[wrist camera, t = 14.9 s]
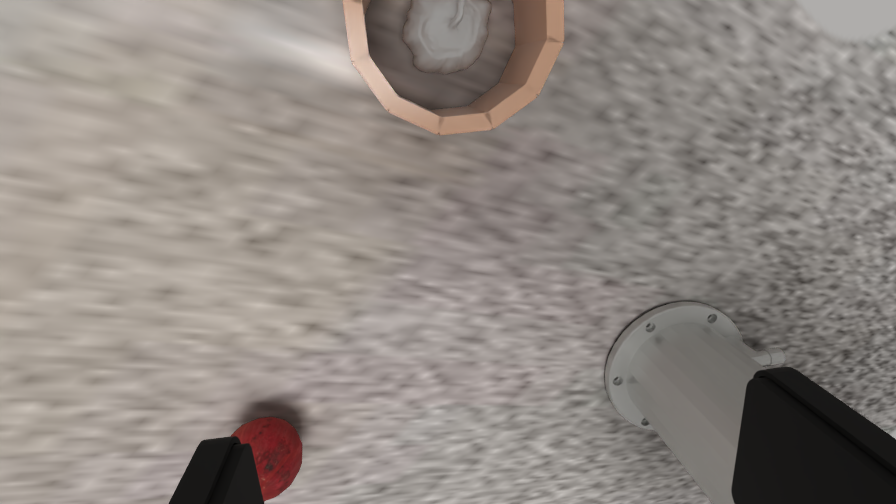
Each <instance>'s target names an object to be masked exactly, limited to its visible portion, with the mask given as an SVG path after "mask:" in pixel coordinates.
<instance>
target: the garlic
mask: <svg viewBox="0 0 896 504" xmlns="http://www.w3.org/2000/svg"><path fill="white" fill-rule="evenodd" d="M490 12H491V3H490V2H489V1H487V0H411V9H410V10H409V11H408V13H407V21H406V23H405V25H404V27H403V36H402V38H403V41H404V42H405V43H406V44H407V45H408V47H409V49H410V50H411V51H412V53H413V55H414V57H413V64H414V66H415V67H417V68H418V69H420V70H421V71H423V72H440V73H442V74H449V73H453V72H456V71H458V70H465V69H467V68H468V67H469V66H471V65H472V64H473V63H474V62H475V60H476V59H477V58H478V57H479V56H480V54H481V52H482V48H483V45H484V43H485V41H486V39H487V37H488V29H487V23H488V17H489V14H490Z"/></svg>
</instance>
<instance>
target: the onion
mask: <svg viewBox="0 0 896 504" xmlns="http://www.w3.org/2000/svg"><path fill="white" fill-rule="evenodd" d="M232 436H236V437H238V438H239V439H240V442H241V444H245V443H249V444H250V445H251V448H252V451H253V456H254V460H255V464H256V469H257V473H258V478H259V482H260V487H261V491H262V496H263V500H264V501H266V500H269V499H271V498H274V497H276V496H278V495H279V494H280V493H282V492H283V491H284V490H285V489H286V488H288V487H289V486H290V485H291V483H292V482H293V480H294V479H295V477H296V475H297V473H298V472H299V469H300V467H301V464H302V442H301V440H300V437H299V435H298V433H297V431H296V430H295V428H294V427H293V426H292V425H290V424H289V423H288V422H287V421H285V420H283V419H279V418H275V417H265V418H258V419H256V420H253V421H251V422H249V423H246V424H244V425H242V426H241V427H240V428H238V429H237V430H236V431H235V432H234V433H233V434H232V435H231V437H232Z"/></svg>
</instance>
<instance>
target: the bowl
mask: <svg viewBox="0 0 896 504" xmlns="http://www.w3.org/2000/svg"><path fill="white" fill-rule="evenodd" d="M342 1H343V8H344V15H345V22H346V29H347V36H348V43H349V50H350V57H351V61H352V62H353V63H352V64H353V65H354V67H355V68H356V69H357V71H358V72H359V74H360V75H361V76H362V78H363V79H364V80H365V82H366V83H367V85H368V86H369V87H370V89H371V90H372V91H373V93H374V94H375V96H376V97H377V98H378V100H379V101H380V102H381V104H382V105H383V107H384V108H385V109H386V111H387V110H388V112H389V113H391V114H393V115H395V116H398V117H400V118H402V119H404V120H406V121H408V122H411V123H413V124H415V125H417V126H419V127H421V128H424V129H426V130H428V131H430V132H432V133H434V134H437V135H438V134H439V135H448V134H457V133H466V132H476V131H485V130H492V129H494V128H496V127H497V126H499V125H500V124H501V123H503V122H504V121H505V120H507V119H508V118H510V117H511V116H512V115H514V114H515V113H516V112H518V111H519V110H520V109H522V108H523V107H525V106H526V105H527V104H529V103H530V102H531V101H533V100H534V99H535V98H537V96H536V95H538V96H539V94H540V92H541V90H542V87H543V85H544V83H545V81H546V79H547V77H548V75H549V73H550V71H551V69H552V67H553V65H554V63H555V61H556V59H557V56H558V54H559V52H560V50H561V48H562V46H563V44H564V43H562V42H564V0H512V2H513V3H514V26H515V48H514V50H513V52H512V54H511V57H510V59H509V61H508V63H507V65H506V67H505V70H504V72H503V74H502V76H501V78H500V81H499V83H498V84H496V85H495V86H494V87H492V88H491V89H490V90H488V91H487V92H486V93H484V94H483V95H482V96H480V97H479V98H478V99H476V100H475V101H474V102H472V103H471V104H470V105H468V106H464V107H454V108H444V109H434V110H429V109H427V108H425V107H422V106H420V105H418V104H416V103H414V102H412V101H410V100H408V99H406V98H403V97H401V96H399V95H397V94H396V93H395V91H394V90H393V88H392V87H391V86H390V84H389V83H388V81H387V80H386V79H385V77H384V76H383V74H382V73H381V71H380V70H379V69H378V67H377V66H376V64H375V63H374V62H373V60H372V59H371V57H370V52H369V45H368V37H367V29H366V22H365V14H366V11H367V9H368V6H369V3H370V1H371V0H342Z"/></svg>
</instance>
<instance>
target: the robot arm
mask: <svg viewBox="0 0 896 504" xmlns="http://www.w3.org/2000/svg"><path fill="white" fill-rule="evenodd" d="M785 360H786V359H785V354H784V352H783V351H782V350H781V349H780V348H772V349H766V350H762V351H758V352H756V351H755V350H753V349H751V348H750V347H749V346H747V345H746V344H745V343H743V339H742V335H741V333H740V332H739V330H738V328H737V326H736V325H735V324H734V323H733V322H732V320H731V319H730V318H729V317H727V316H726V315H724V314H723V313H722V312H720V311H719V310H717V309H715V308H713V307H711V306H709V305H706V304H702V303H698V302H677V303H670V304H667V305H664V306H661V307H658V308H655V309H653V310H651V311H650V312H648V313H646V314H644V315H642V316H641V317H640V318H638V319H637V320H636V321H634V322H633V323H632V324H631V325H630V326H629V327H628V328H627V329H626V330H625V331H624V332H623V333H622V334H621V336H620V337H619V338H618V340H617V341H616V343H615V344H614V346H613V348H612V350H611V352H610V354H609V357H608V361H607V364H606V368H605V385H606V391H607V394H608V396H609V399H610V401H611V403H612V404H613V406H614V407H615V409H616V410H617V411H618V412H619V414H620V415H621V416H622V417H623V418H624V419H625V420H627V421H628V422H630V423H631V424H633V425H635V426H637V427H639V428H642V429H646V430H652V431H656V432H657V433H658V435H659V436H660V437H661V439H662V440H663V441H664V442H665V444H666V445H667V446H668V447H669V449H670V450H671V451H672V453H673V454H674V455H675V456H676V458H677V459H678V460H679V461H680V463H681V464H682V465H683V467H684V468H685V469H686V470H687V472H688V473H689V474H690V475H691V477H692V478H693V479H694V480H695V482H696V483H697V484H698V486H699V487H700V488H701V489H702V491H703V492H704V493H705V494H706V496H707V497H708V498H709V500H710V501H711V502H712V503H713V504H896V439H895V438H893V437H892V436H890V435H889V434H888V433H886V432H885V431H883V430H882V429H880V428H879V427H877V426H876V425H875V424H873V423H872V422H870V421H869V420H867V419H866V418H865V417H863V416H862V415H860V414H859V413H857V412H856V411H855V410H853V409H852V408H850V407H849V406H847V405H846V404H844V403H843V402H842V401H840V400H839V399H837V398H836V397H834V396H833V395H832V394H830V393H829V392H827V391H826V390H824V389H823V388H822V387H820V386H819V385H817V384H816V383H814V382H813V381H811V380H810V379H809V378H807V377H806V376H804V375H803V374H801V373H800V372H799V371H797V370H795V369H793V368H791V367H781V368H773V369H766V368H765V367H763V366H772V365H778V364H783V363H784V362H785ZM169 504H264V500H263V496H262V491H261V487H260V482H259V478H258V473H257V469H256V464H255V460H254V456H253V451H252V448H251V445H250V444H249V443H245V444H241V442H240V439H239V438H238V437H236V436H232V437H224V438H216V439H208V440H203V441H201V442H200V444H199V445H198V447H197V449H196V451H195V453H194V455H193V457H192V459H191V461H190V463H189V465H188V467H187V469H186V471H185V473H184V475H183V476H182V478H181V480H180V482H179V484H178V486H177V488H176V490H175V492H174V494H173V496H172V498H171V500H170V502H169Z"/></svg>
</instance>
